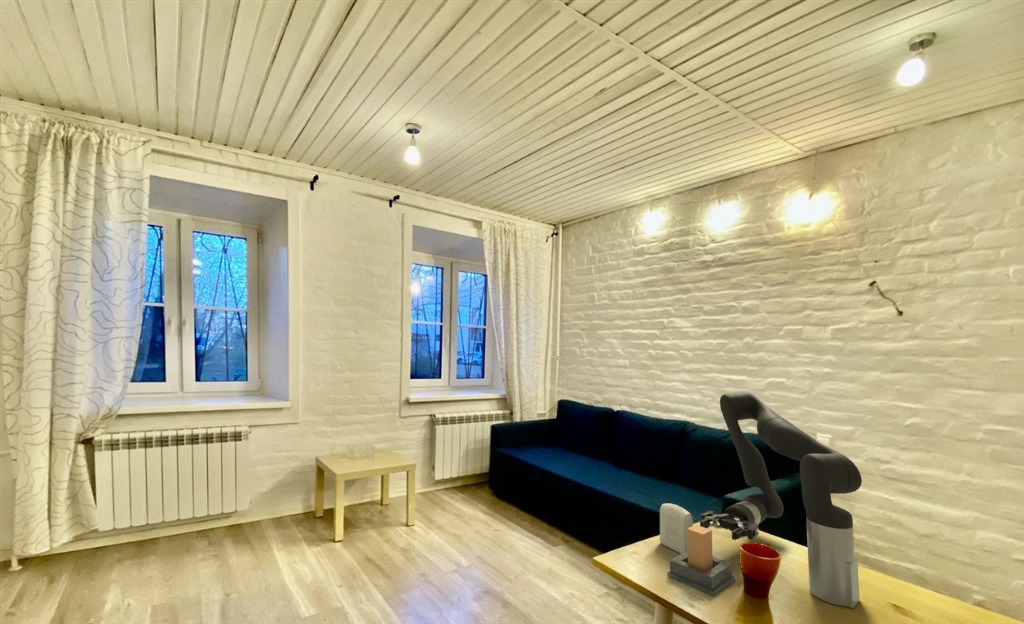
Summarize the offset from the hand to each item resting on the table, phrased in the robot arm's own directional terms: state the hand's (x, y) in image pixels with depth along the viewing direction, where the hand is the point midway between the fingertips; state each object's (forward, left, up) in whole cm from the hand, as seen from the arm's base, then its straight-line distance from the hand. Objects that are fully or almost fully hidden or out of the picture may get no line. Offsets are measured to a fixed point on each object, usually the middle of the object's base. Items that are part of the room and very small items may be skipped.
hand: (717, 530), depth 119 cm
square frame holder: (0, +10, -9) cm, 13 cm away
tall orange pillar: (0, +10, -8) cm, 13 cm away
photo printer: (+13, -1, -10) cm, 16 cm away
